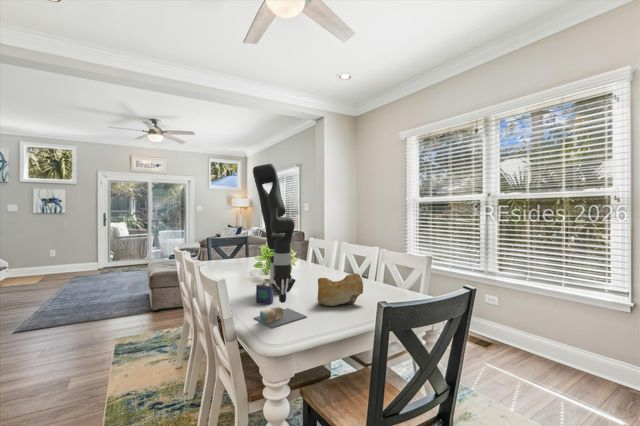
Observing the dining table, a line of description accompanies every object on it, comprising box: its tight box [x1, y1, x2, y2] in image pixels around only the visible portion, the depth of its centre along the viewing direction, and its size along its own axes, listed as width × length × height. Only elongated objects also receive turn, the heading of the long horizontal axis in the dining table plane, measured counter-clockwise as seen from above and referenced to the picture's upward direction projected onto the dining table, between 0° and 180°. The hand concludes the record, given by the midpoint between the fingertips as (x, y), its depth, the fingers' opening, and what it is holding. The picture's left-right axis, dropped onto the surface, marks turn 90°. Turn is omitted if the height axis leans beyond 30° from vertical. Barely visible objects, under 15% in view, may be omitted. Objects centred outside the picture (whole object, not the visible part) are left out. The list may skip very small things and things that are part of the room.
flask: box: [255, 281, 274, 305], centre depth 155 cm, size 9×3×11 cm, turn 74°
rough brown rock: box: [317, 273, 364, 307], centre depth 157 cm, size 23×17×15 cm
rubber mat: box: [253, 307, 308, 329], centre depth 134 cm, size 18×14×1 cm
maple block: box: [259, 306, 284, 323], centre depth 131 cm, size 4×4×9 cm
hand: (282, 302), depth 134 cm, fingers closed
